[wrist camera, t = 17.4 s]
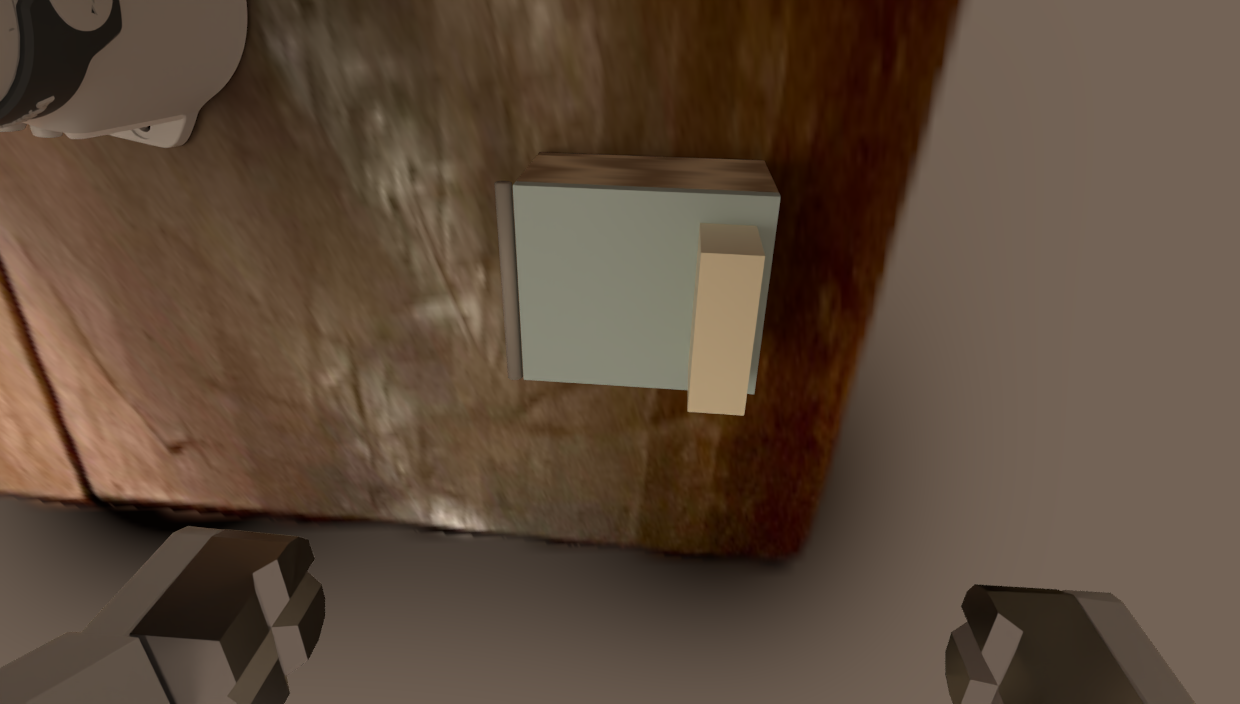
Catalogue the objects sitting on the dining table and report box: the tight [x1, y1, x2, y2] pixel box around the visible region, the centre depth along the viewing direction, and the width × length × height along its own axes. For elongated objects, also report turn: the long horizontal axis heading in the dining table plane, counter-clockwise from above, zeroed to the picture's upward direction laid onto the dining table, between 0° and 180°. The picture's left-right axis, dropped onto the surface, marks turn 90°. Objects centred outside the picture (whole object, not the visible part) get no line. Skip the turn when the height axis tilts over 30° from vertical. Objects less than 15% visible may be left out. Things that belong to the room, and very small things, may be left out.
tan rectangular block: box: [688, 223, 765, 415], centre depth 36 cm, size 3×9×4 cm, turn 179°
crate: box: [517, 152, 778, 193], centre depth 42 cm, size 14×12×7 cm
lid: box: [495, 181, 781, 394], centre depth 39 cm, size 15×12×1 cm
